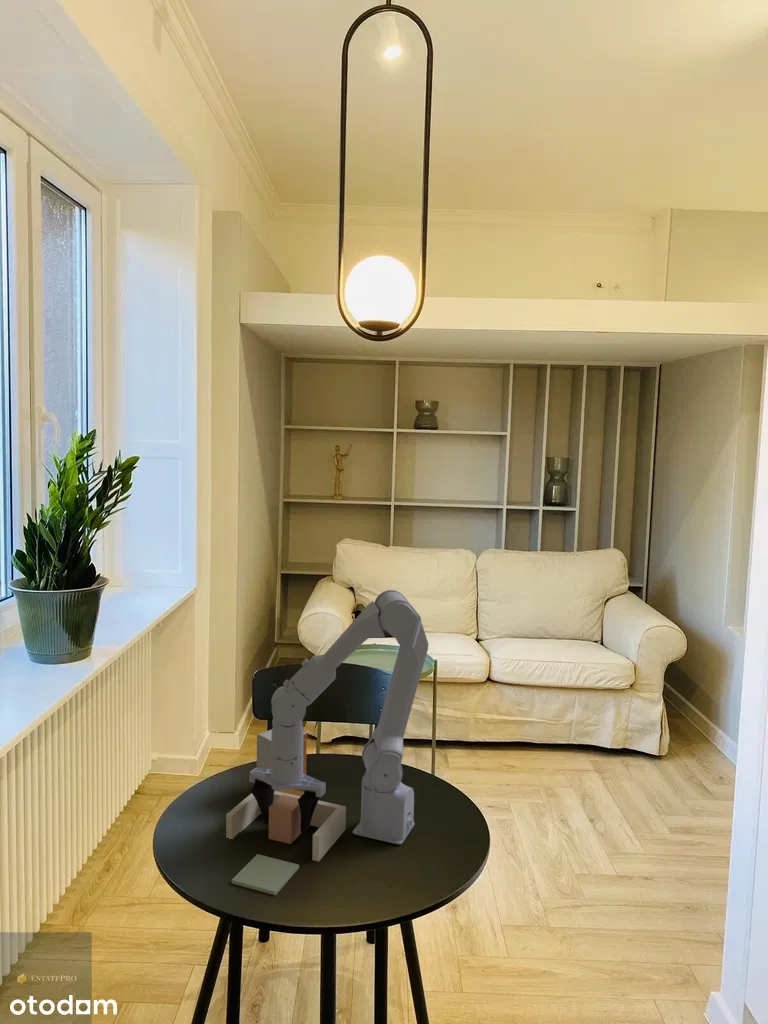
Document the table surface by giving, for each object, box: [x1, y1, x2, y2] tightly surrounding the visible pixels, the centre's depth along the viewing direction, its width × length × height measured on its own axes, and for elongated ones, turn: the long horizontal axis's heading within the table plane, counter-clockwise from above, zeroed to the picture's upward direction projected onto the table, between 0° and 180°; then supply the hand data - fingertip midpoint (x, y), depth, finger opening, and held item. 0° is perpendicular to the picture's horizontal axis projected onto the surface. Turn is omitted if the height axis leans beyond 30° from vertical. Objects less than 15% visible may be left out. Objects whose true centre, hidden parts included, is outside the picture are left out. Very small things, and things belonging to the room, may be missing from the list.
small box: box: [256, 729, 308, 796], centre depth 146 cm, size 8×6×13 cm
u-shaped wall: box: [225, 791, 347, 862], centre depth 132 cm, size 18×11×4 cm, turn 69°
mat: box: [231, 853, 300, 896], centre depth 120 cm, size 8×8×1 cm
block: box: [268, 795, 302, 845], centre depth 132 cm, size 4×5×6 cm
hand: (286, 825), depth 132 cm, fingers open, 7 cm apart
